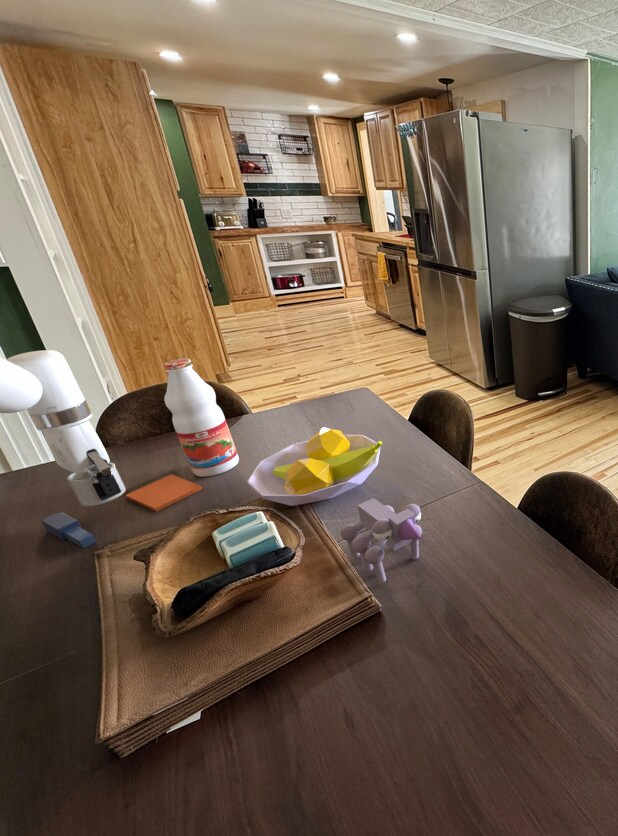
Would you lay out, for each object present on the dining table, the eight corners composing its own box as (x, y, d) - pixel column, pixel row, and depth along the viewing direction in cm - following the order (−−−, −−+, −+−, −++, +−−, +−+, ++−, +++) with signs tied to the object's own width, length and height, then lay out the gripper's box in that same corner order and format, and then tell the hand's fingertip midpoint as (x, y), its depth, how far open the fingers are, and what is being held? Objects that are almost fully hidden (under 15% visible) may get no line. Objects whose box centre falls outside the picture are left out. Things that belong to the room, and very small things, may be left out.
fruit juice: (241, 453, 124) (205, 352, 113) (238, 470, 116) (199, 364, 105) (196, 463, 119) (154, 359, 108) (190, 482, 112) (144, 372, 101)
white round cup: (90, 509, 94) (77, 484, 91) (73, 501, 96) (60, 476, 94) (132, 490, 99) (121, 466, 97) (115, 483, 102) (104, 459, 100)
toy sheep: (455, 573, 85) (445, 511, 80) (401, 612, 77) (386, 547, 72) (394, 528, 96) (382, 472, 91) (341, 558, 88) (325, 498, 83)
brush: (80, 550, 91) (73, 538, 90) (47, 531, 96) (40, 520, 95) (100, 540, 93) (94, 528, 92) (66, 522, 98) (60, 511, 97)
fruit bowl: (227, 506, 103) (210, 462, 99) (329, 446, 127) (319, 408, 122) (326, 533, 95) (312, 486, 90) (415, 464, 118) (408, 424, 114)
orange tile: (156, 511, 102) (154, 508, 101) (126, 498, 106) (124, 495, 106) (202, 488, 109) (201, 486, 109) (172, 477, 114) (171, 474, 113)
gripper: (13, 414, 90) (56, 491, 98) (56, 432, 84) (99, 513, 91) (66, 399, 97) (103, 472, 104) (110, 414, 90) (146, 491, 97)
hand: (101, 491), depth 97 cm, fingers closed on white round cup, 6 cm apart
